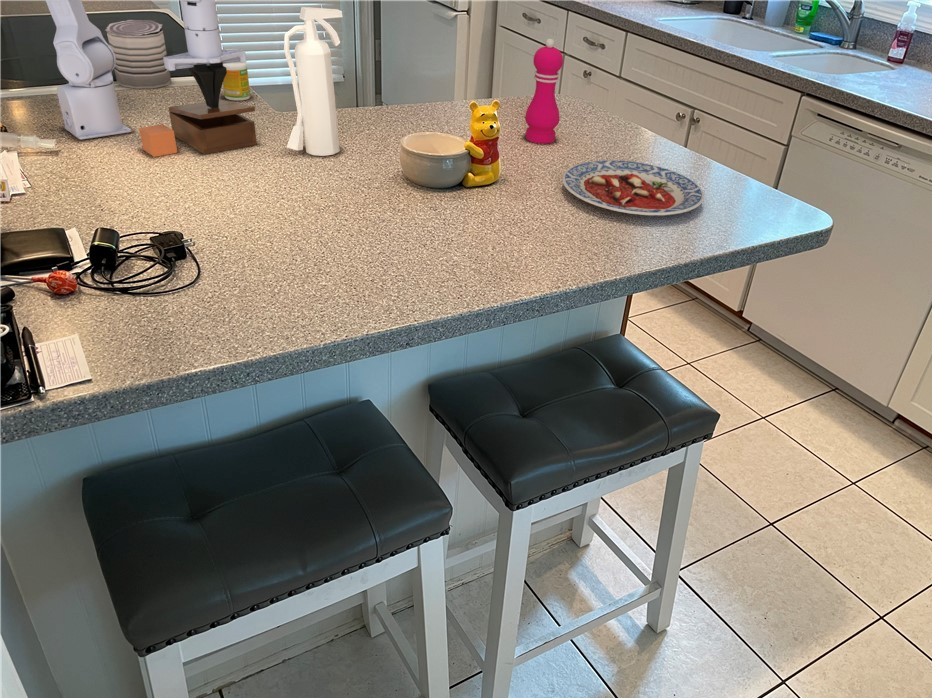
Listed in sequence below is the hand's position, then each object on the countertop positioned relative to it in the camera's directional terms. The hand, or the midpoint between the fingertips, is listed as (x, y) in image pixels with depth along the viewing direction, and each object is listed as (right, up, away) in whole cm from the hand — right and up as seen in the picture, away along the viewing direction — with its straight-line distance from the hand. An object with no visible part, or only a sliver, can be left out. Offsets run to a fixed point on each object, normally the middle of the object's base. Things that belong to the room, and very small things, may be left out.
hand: (212, 106), depth 143 cm
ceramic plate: (+78, -17, -2) cm, 80 cm away
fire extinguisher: (+18, -7, +4) cm, 20 cm away
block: (-8, -9, -3) cm, 13 cm away
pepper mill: (+62, +1, +21) cm, 65 cm away
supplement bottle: (-5, +12, +27) cm, 30 cm away
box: (-1, -5, +4) cm, 7 cm away
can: (-28, +17, +31) cm, 45 cm away
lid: (0, -1, +1) cm, 1 cm away
